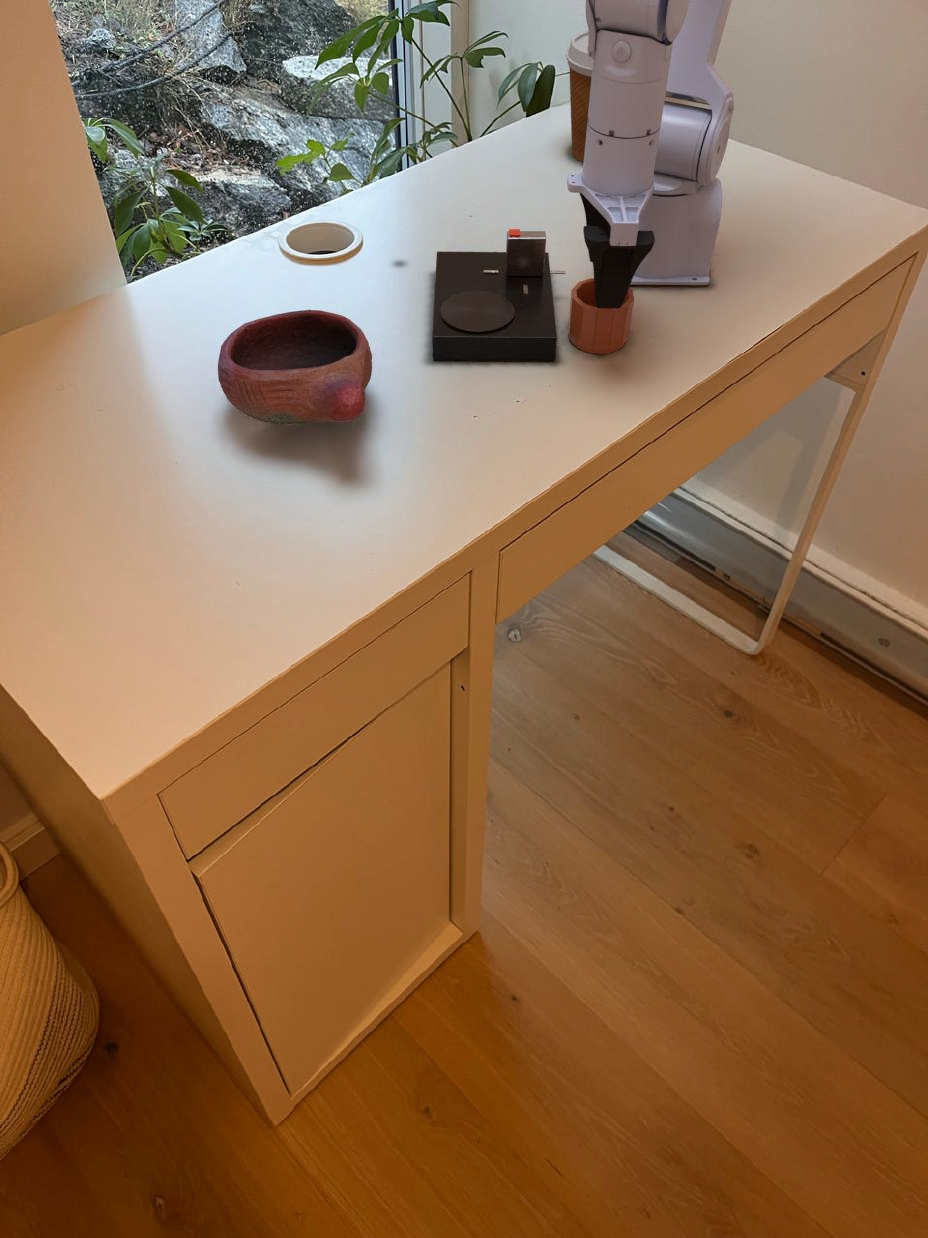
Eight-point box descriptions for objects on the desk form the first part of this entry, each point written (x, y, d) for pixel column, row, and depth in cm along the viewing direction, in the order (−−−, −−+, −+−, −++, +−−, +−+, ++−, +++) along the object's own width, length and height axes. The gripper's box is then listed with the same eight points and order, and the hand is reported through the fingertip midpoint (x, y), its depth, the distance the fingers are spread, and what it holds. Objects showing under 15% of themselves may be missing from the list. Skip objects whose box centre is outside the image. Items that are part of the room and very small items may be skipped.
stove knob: (542, 268, 93) (545, 228, 90) (543, 276, 93) (546, 235, 90) (505, 268, 93) (507, 228, 90) (505, 275, 93) (507, 235, 89)
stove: (560, 275, 98) (562, 250, 96) (570, 361, 88) (572, 336, 86) (437, 274, 98) (436, 249, 96) (432, 360, 88) (432, 334, 86)
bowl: (194, 426, 81) (173, 343, 75) (285, 350, 89) (272, 268, 83) (356, 489, 76) (347, 405, 70) (437, 402, 84) (436, 319, 78)
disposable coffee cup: (554, 168, 113) (562, 55, 104) (562, 134, 120) (571, 24, 111) (636, 174, 112) (652, 61, 103) (640, 139, 119) (655, 30, 110)
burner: (513, 292, 91) (514, 290, 91) (515, 333, 86) (515, 331, 86) (441, 292, 91) (441, 290, 91) (439, 332, 86) (439, 330, 86)
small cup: (624, 321, 92) (630, 277, 89) (630, 354, 88) (636, 310, 85) (565, 321, 92) (570, 277, 89) (569, 354, 88) (574, 310, 85)
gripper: (567, 85, 81) (555, 241, 91) (579, 164, 71) (564, 327, 81) (652, 86, 81) (630, 241, 91) (675, 164, 71) (648, 328, 81)
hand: (604, 282), depth 86 cm, fingers open, 7 cm apart
